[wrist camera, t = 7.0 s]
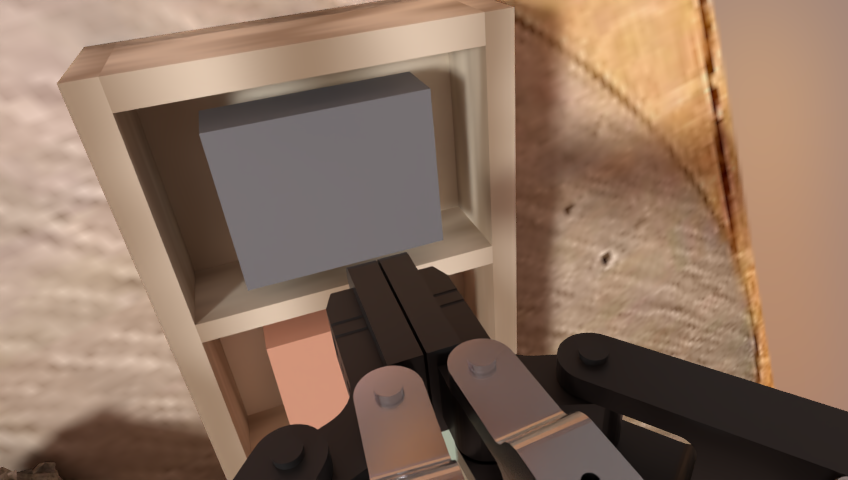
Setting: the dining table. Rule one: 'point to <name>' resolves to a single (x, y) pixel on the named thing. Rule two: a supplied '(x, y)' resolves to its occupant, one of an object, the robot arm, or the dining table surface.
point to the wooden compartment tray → (199, 202)
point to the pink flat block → (306, 368)
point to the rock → (32, 473)
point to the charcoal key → (325, 176)
